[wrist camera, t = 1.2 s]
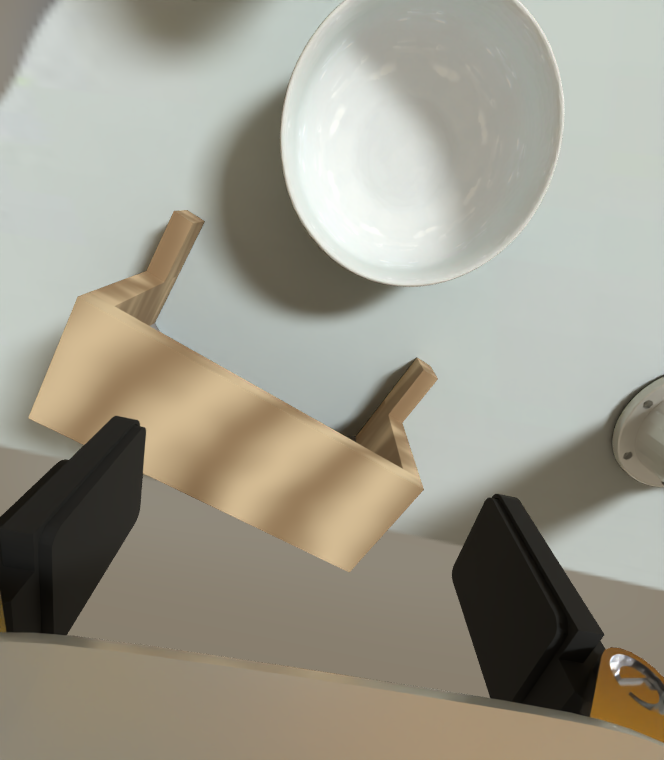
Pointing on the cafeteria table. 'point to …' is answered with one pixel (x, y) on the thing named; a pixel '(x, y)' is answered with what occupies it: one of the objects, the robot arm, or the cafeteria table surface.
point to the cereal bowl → (421, 134)
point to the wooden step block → (228, 421)
